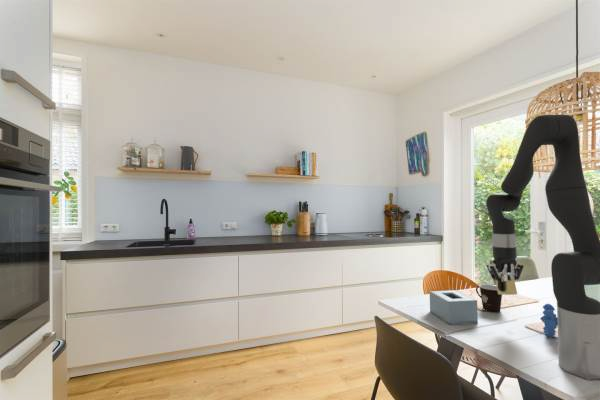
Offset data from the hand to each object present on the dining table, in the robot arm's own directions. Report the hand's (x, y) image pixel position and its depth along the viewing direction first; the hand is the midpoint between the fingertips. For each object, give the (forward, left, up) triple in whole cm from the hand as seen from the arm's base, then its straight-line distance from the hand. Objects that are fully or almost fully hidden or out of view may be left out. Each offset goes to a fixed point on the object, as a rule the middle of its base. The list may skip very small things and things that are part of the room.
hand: (506, 290), depth 112 cm
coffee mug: (+19, -8, -14) cm, 25 cm away
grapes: (-10, -9, -14) cm, 19 cm away
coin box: (+12, +14, -14) cm, 23 cm away
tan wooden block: (-1, 0, -1) cm, 1 cm away
